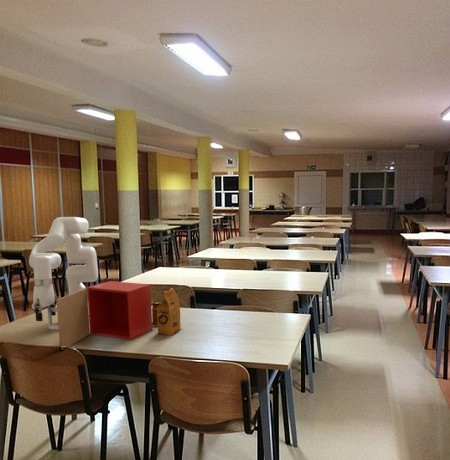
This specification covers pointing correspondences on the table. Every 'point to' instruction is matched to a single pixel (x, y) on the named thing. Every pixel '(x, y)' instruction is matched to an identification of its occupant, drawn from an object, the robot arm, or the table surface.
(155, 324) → the condiment
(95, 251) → the robot arm
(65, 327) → the door
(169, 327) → the coffee package
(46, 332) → the table surface
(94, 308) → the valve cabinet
